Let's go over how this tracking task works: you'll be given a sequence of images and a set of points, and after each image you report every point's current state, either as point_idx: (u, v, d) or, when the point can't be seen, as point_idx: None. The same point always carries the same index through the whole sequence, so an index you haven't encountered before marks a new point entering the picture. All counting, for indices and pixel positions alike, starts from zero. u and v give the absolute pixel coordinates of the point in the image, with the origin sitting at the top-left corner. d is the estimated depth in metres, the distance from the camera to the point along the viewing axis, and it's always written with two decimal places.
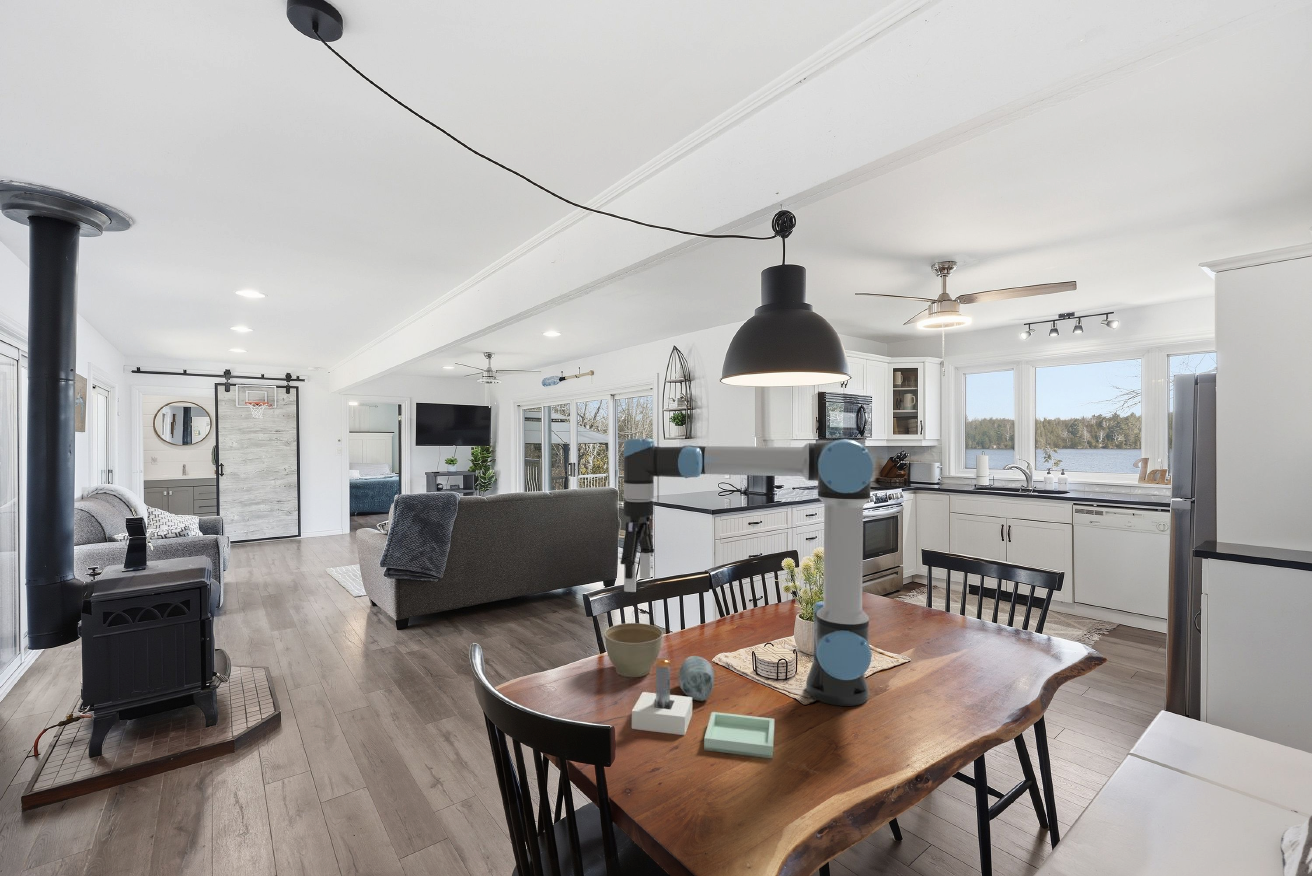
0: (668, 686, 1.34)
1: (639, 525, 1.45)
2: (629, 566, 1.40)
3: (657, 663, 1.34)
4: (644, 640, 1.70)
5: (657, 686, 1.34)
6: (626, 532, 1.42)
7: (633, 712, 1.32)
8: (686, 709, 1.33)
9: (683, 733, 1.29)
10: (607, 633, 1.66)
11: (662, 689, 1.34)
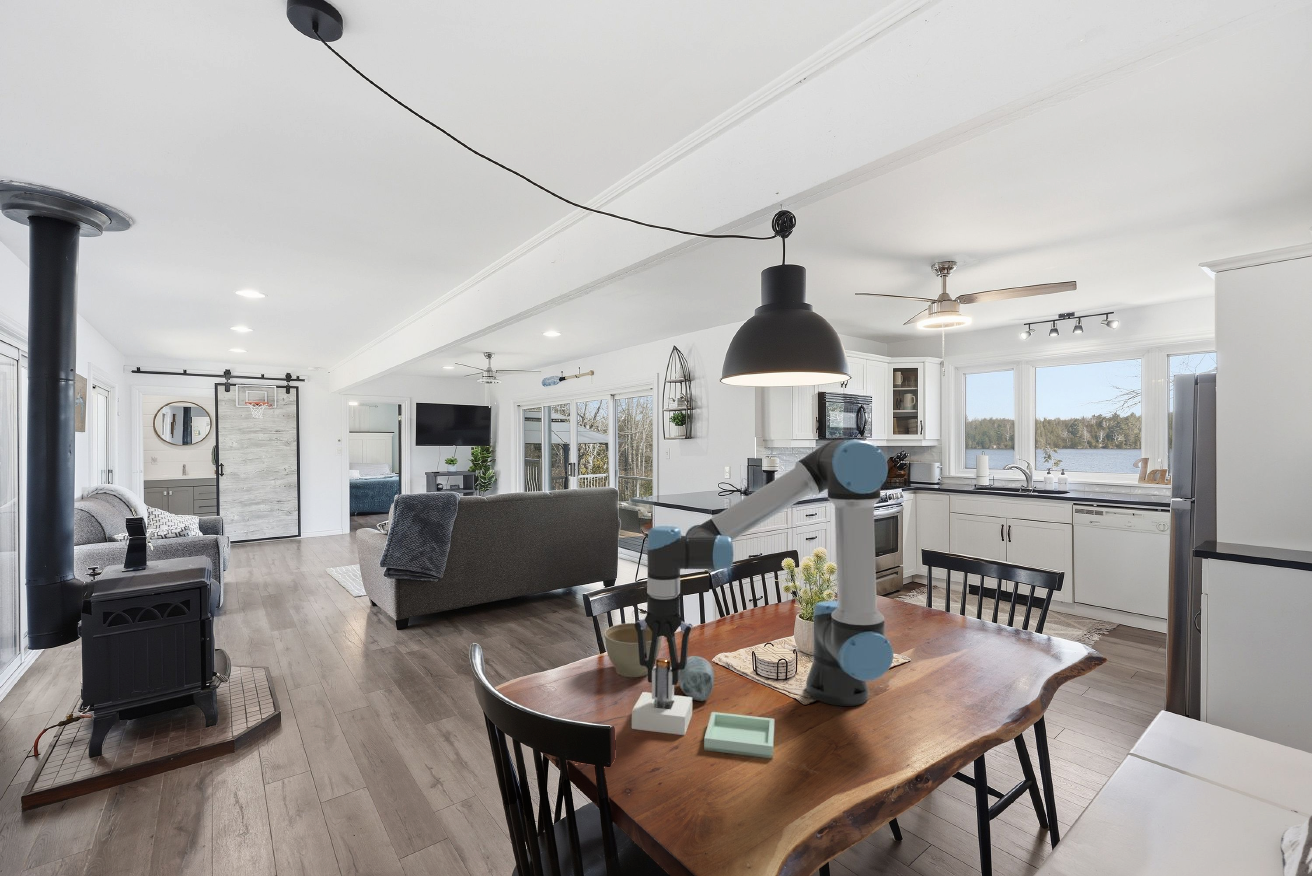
0: None
1: (650, 620, 1.35)
2: None
3: (657, 663, 1.34)
4: None
5: (657, 686, 1.34)
6: None
7: (633, 712, 1.32)
8: (686, 709, 1.33)
9: (683, 733, 1.29)
10: (607, 633, 1.66)
11: (662, 689, 1.34)
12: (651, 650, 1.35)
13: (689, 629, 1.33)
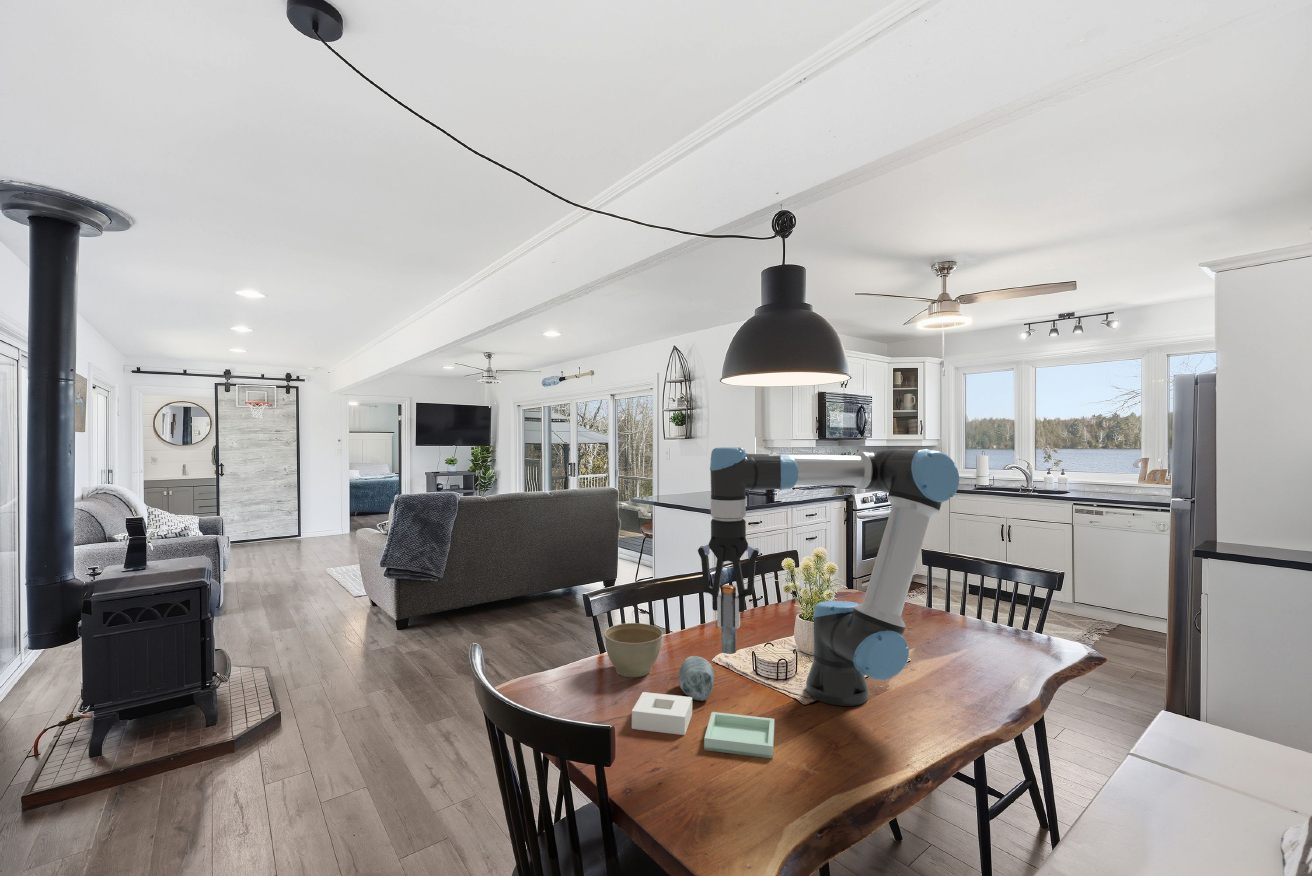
0: (734, 613, 1.28)
1: (715, 545, 1.28)
2: None
3: (722, 589, 1.28)
4: (644, 640, 1.70)
5: (723, 614, 1.28)
6: None
7: (633, 712, 1.32)
8: (686, 709, 1.33)
9: (683, 733, 1.29)
10: (607, 633, 1.66)
11: (728, 616, 1.27)
12: (716, 576, 1.28)
13: (756, 552, 1.26)
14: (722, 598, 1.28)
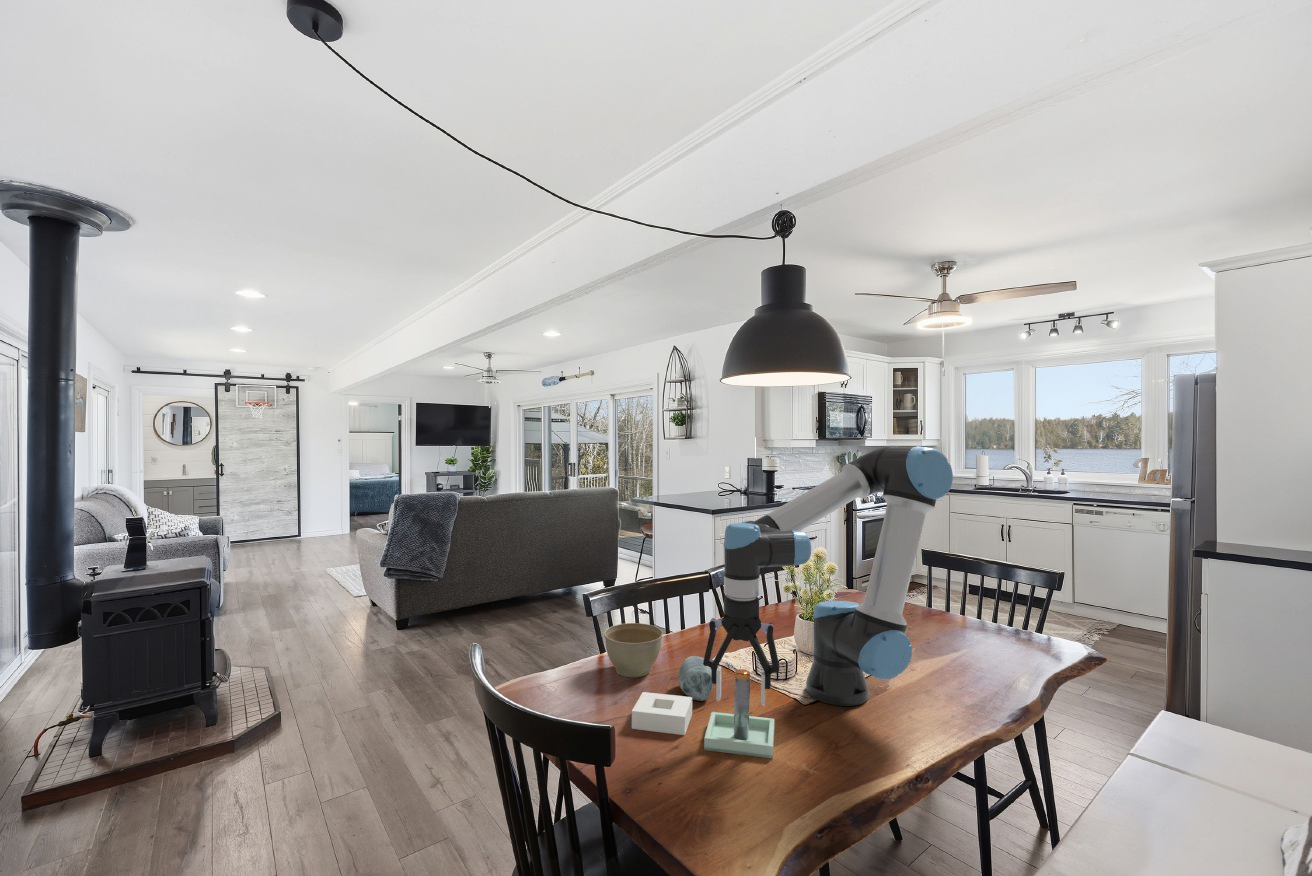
0: (748, 700, 1.26)
1: (727, 624, 1.27)
2: None
3: (737, 675, 1.26)
4: (644, 640, 1.70)
5: (736, 700, 1.26)
6: None
7: (633, 712, 1.32)
8: (686, 709, 1.33)
9: (683, 733, 1.29)
10: (607, 633, 1.66)
11: (742, 703, 1.26)
12: (720, 651, 1.27)
13: (771, 628, 1.25)
14: (736, 684, 1.26)
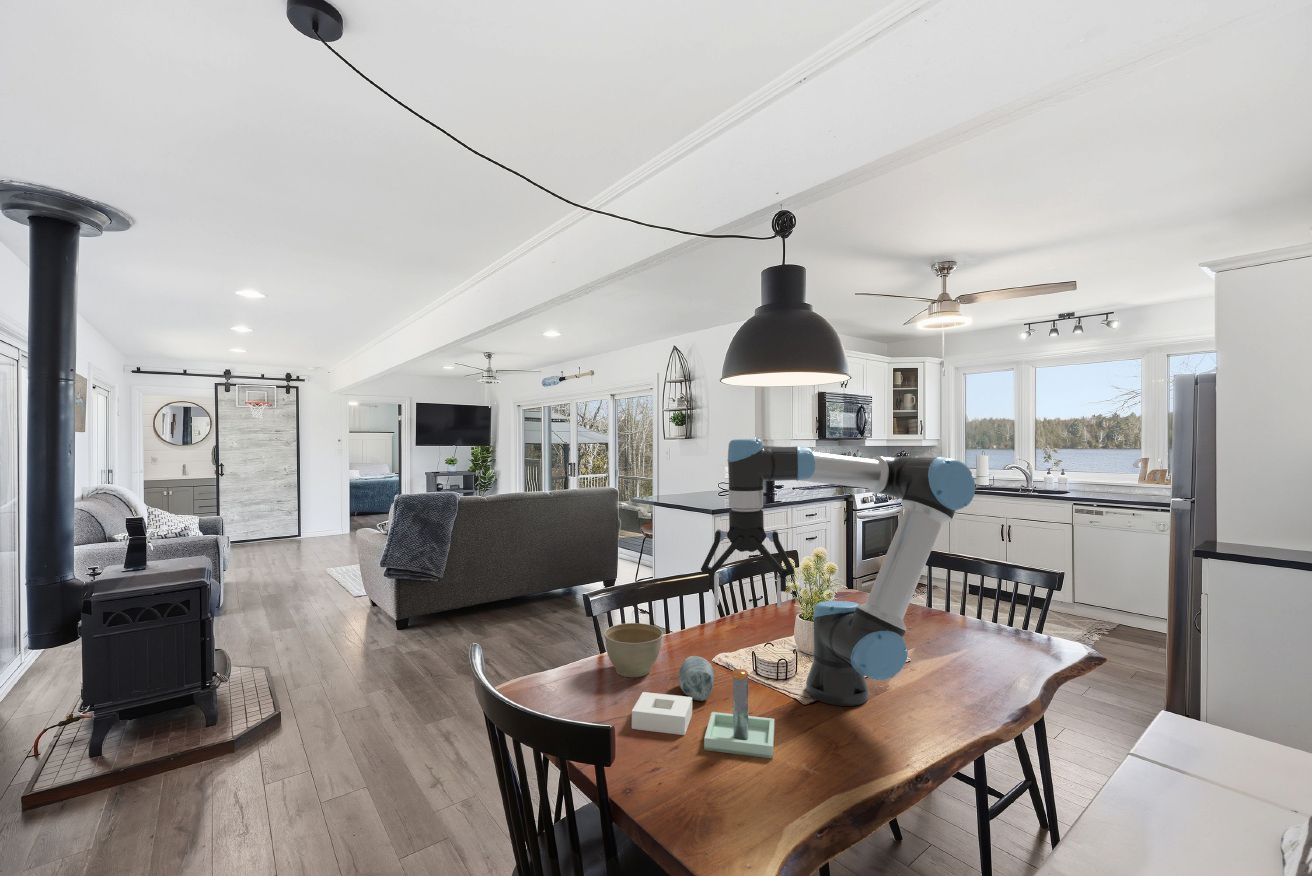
0: (746, 699, 1.26)
1: (733, 536, 1.30)
2: None
3: (734, 675, 1.26)
4: (644, 640, 1.70)
5: (735, 700, 1.26)
6: None
7: (633, 712, 1.32)
8: (686, 709, 1.33)
9: (683, 733, 1.29)
10: (607, 633, 1.66)
11: (740, 702, 1.26)
12: (721, 559, 1.31)
13: (776, 533, 1.28)
14: (734, 684, 1.27)
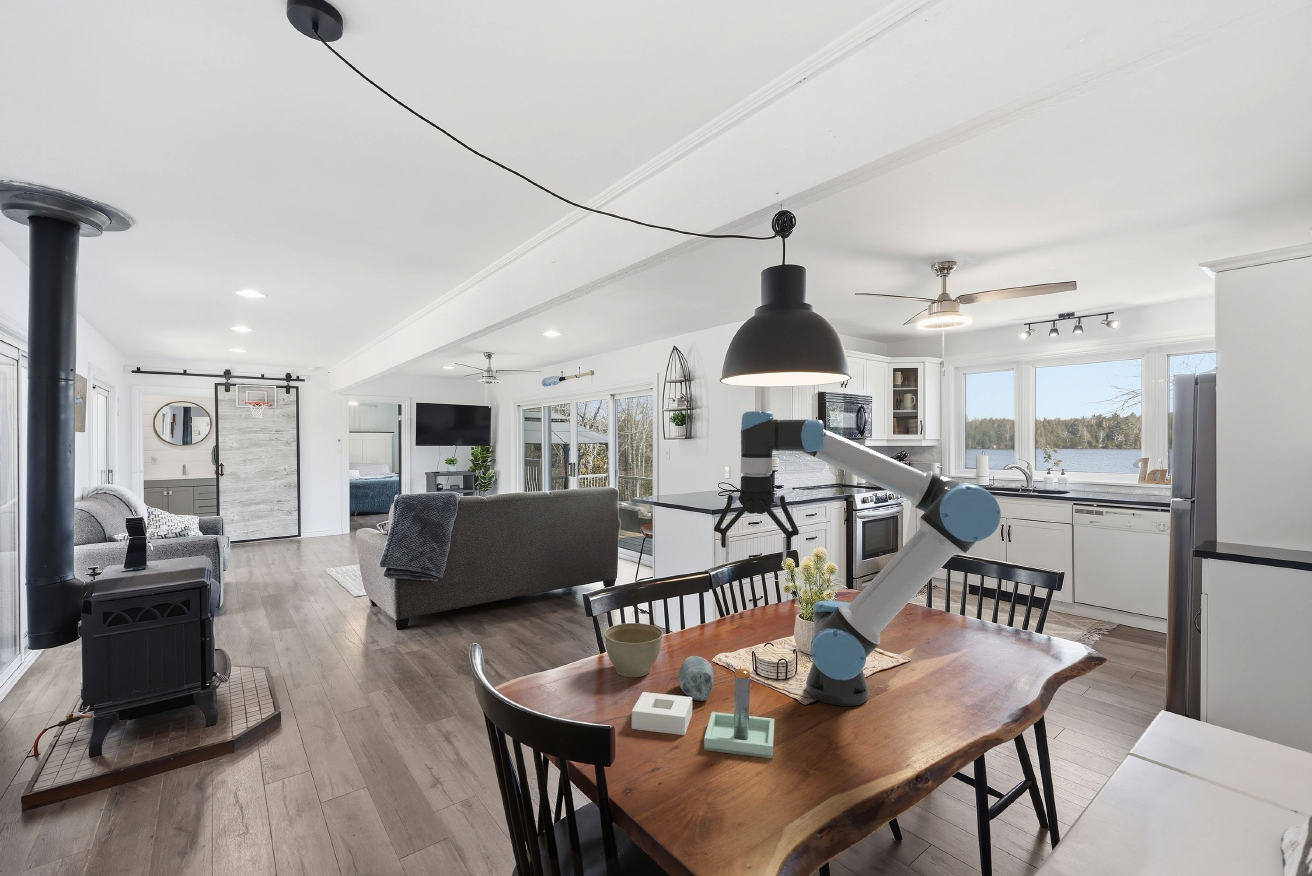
0: (748, 699, 1.27)
1: (744, 499, 1.43)
2: None
3: (737, 674, 1.27)
4: (644, 640, 1.70)
5: (736, 699, 1.27)
6: None
7: (633, 712, 1.32)
8: (686, 709, 1.33)
9: (683, 733, 1.29)
10: (607, 633, 1.66)
11: (742, 702, 1.26)
12: (733, 520, 1.43)
13: (783, 497, 1.41)
14: (736, 683, 1.27)
